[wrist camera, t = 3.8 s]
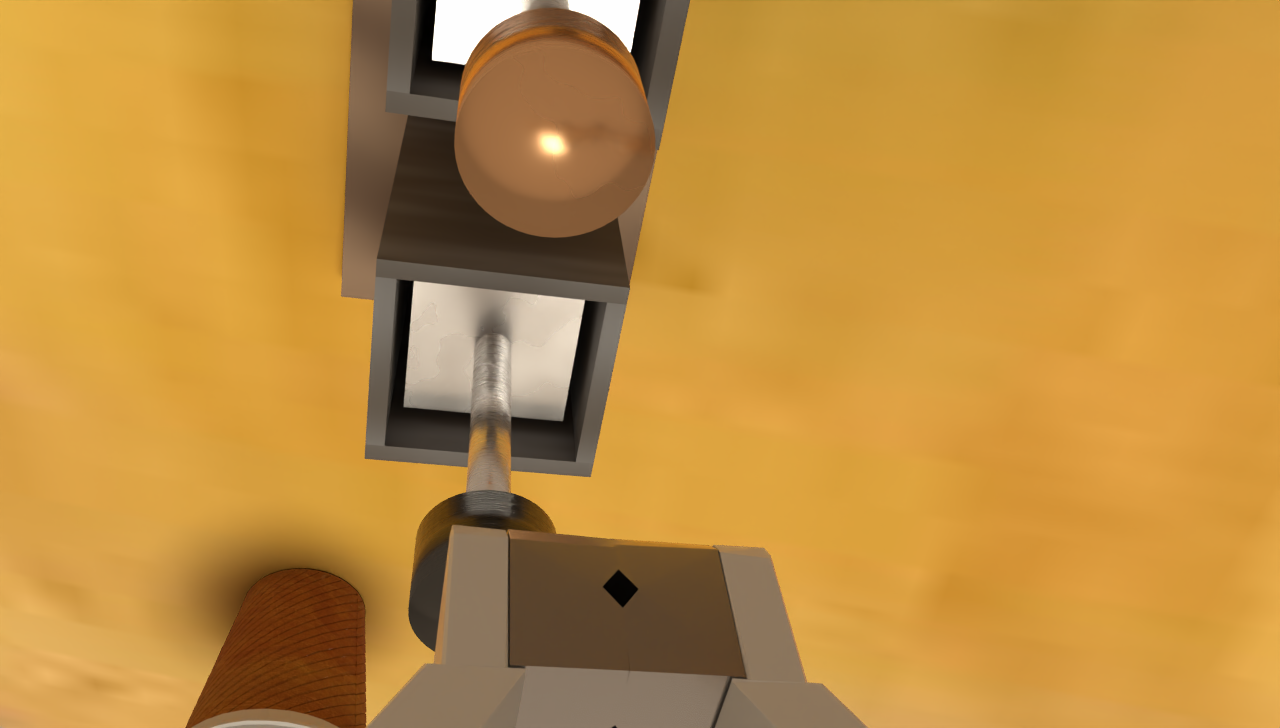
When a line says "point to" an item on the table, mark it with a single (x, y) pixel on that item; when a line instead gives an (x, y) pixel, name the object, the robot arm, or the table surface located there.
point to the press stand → (472, 236)
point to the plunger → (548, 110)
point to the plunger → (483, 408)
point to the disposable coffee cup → (290, 658)
